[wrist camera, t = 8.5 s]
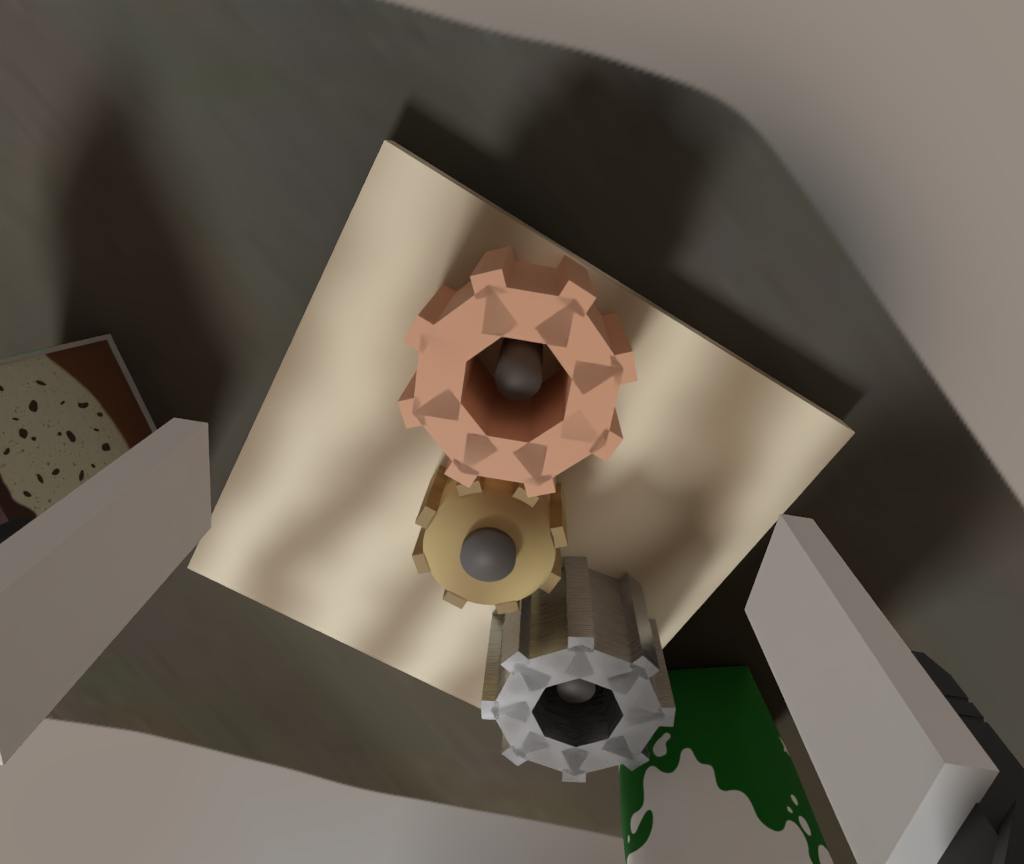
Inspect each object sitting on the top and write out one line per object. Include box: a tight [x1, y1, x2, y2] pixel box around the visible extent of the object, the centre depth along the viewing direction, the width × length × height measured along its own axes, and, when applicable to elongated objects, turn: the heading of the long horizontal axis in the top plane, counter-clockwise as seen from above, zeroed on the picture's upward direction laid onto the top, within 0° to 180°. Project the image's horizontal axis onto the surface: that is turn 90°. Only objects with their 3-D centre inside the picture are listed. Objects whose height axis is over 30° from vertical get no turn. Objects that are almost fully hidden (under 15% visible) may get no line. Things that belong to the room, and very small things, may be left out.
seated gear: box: [481, 556, 676, 782], centre depth 32 cm, size 8×8×6 cm
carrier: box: [188, 140, 855, 709], centre depth 31 cm, size 24×24×6 cm
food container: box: [0, 334, 157, 525], centre depth 29 cm, size 12×6×10 cm, turn 14°
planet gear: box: [397, 246, 638, 498], centre depth 26 cm, size 8×8×6 cm
